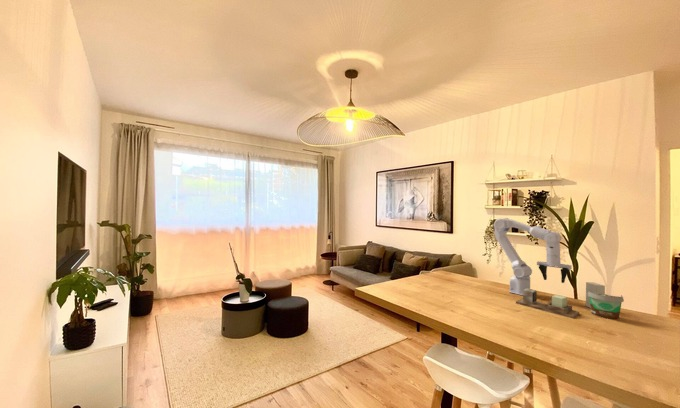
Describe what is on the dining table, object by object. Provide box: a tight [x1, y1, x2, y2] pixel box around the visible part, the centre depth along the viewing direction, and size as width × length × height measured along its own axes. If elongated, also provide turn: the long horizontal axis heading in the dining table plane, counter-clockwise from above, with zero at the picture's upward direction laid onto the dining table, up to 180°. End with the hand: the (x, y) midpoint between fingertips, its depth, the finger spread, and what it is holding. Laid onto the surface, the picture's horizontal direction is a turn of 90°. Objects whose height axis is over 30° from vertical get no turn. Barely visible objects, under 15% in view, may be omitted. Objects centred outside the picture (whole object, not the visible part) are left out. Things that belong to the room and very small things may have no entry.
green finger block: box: [550, 294, 568, 309], centre depth 130 cm, size 4×5×6 cm
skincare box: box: [585, 281, 606, 309], centre depth 135 cm, size 6×4×12 cm
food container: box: [587, 292, 625, 320], centre depth 124 cm, size 12×6×10 cm, turn 62°
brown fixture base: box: [515, 288, 580, 319], centre depth 134 cm, size 23×9×7 cm, turn 36°
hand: (553, 281), depth 145 cm, fingers open, 7 cm apart
